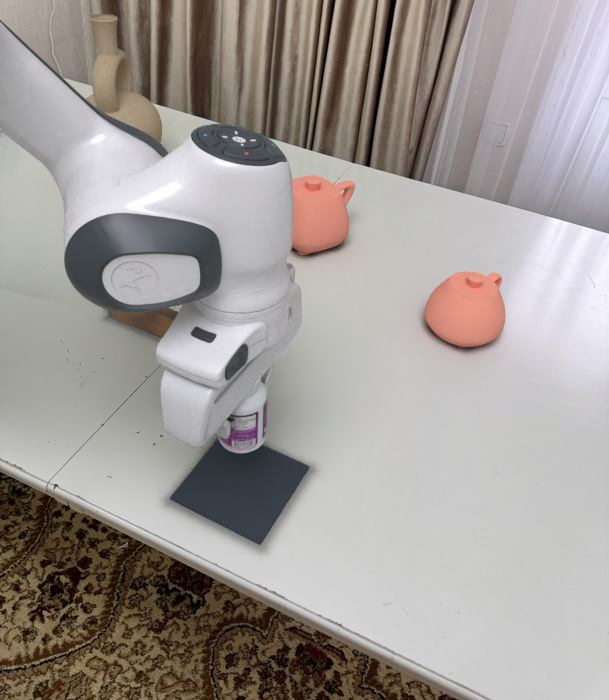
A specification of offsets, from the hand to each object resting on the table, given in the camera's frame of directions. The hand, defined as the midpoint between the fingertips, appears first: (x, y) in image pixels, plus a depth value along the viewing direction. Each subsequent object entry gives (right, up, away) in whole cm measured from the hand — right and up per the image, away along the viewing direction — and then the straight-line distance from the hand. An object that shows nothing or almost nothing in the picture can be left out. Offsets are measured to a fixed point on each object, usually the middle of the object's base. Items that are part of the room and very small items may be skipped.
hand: (241, 411), depth 65 cm
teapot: (+7, +27, +49) cm, 57 cm away
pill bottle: (0, -3, +3) cm, 4 cm away
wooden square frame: (-13, +14, +33) cm, 38 cm away
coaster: (-1, -10, +9) cm, 13 cm away
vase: (-31, +43, +64) cm, 83 cm away
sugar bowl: (+32, +10, +33) cm, 47 cm away
